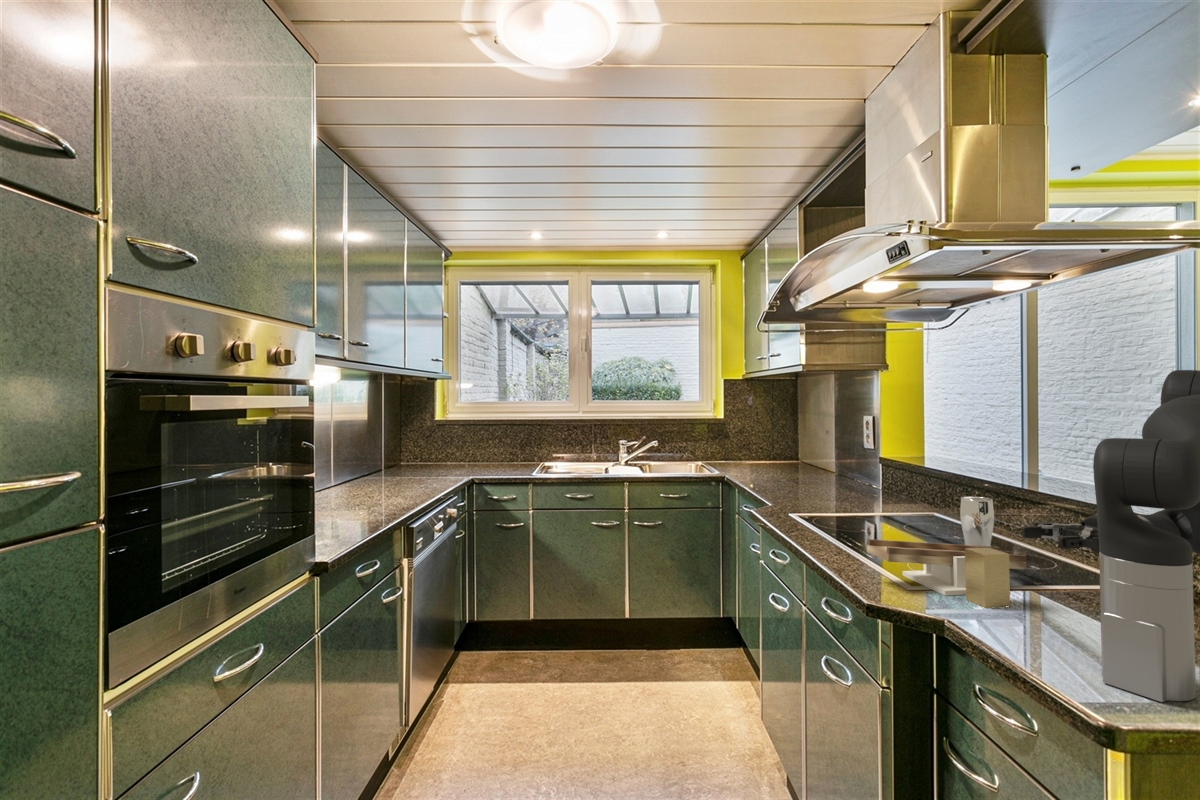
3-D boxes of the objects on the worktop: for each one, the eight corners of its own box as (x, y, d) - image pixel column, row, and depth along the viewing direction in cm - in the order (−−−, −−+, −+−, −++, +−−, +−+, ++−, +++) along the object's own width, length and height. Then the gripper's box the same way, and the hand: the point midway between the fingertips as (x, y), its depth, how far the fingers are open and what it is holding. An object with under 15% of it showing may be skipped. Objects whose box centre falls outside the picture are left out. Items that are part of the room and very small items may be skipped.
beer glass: (956, 555, 146) (954, 496, 146) (986, 556, 145) (985, 496, 145) (969, 563, 139) (967, 500, 139) (1000, 563, 138) (999, 500, 138)
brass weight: (989, 598, 114) (988, 547, 114) (1010, 607, 109) (1009, 553, 109) (965, 599, 113) (964, 548, 113) (985, 608, 108) (984, 554, 108)
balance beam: (996, 559, 128) (997, 546, 128) (1025, 569, 120) (1026, 556, 120) (866, 552, 126) (867, 539, 126) (888, 561, 118) (889, 547, 118)
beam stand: (944, 573, 130) (944, 542, 130) (992, 593, 116) (991, 558, 116) (902, 575, 129) (902, 544, 129) (945, 595, 115) (944, 560, 115)
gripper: (1084, 508, 121) (1011, 511, 119) (1155, 522, 106) (1073, 525, 105) (1085, 544, 120) (1012, 547, 119) (1156, 563, 106) (1074, 567, 105)
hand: (1040, 537), depth 112 cm, fingers open, 8 cm apart
